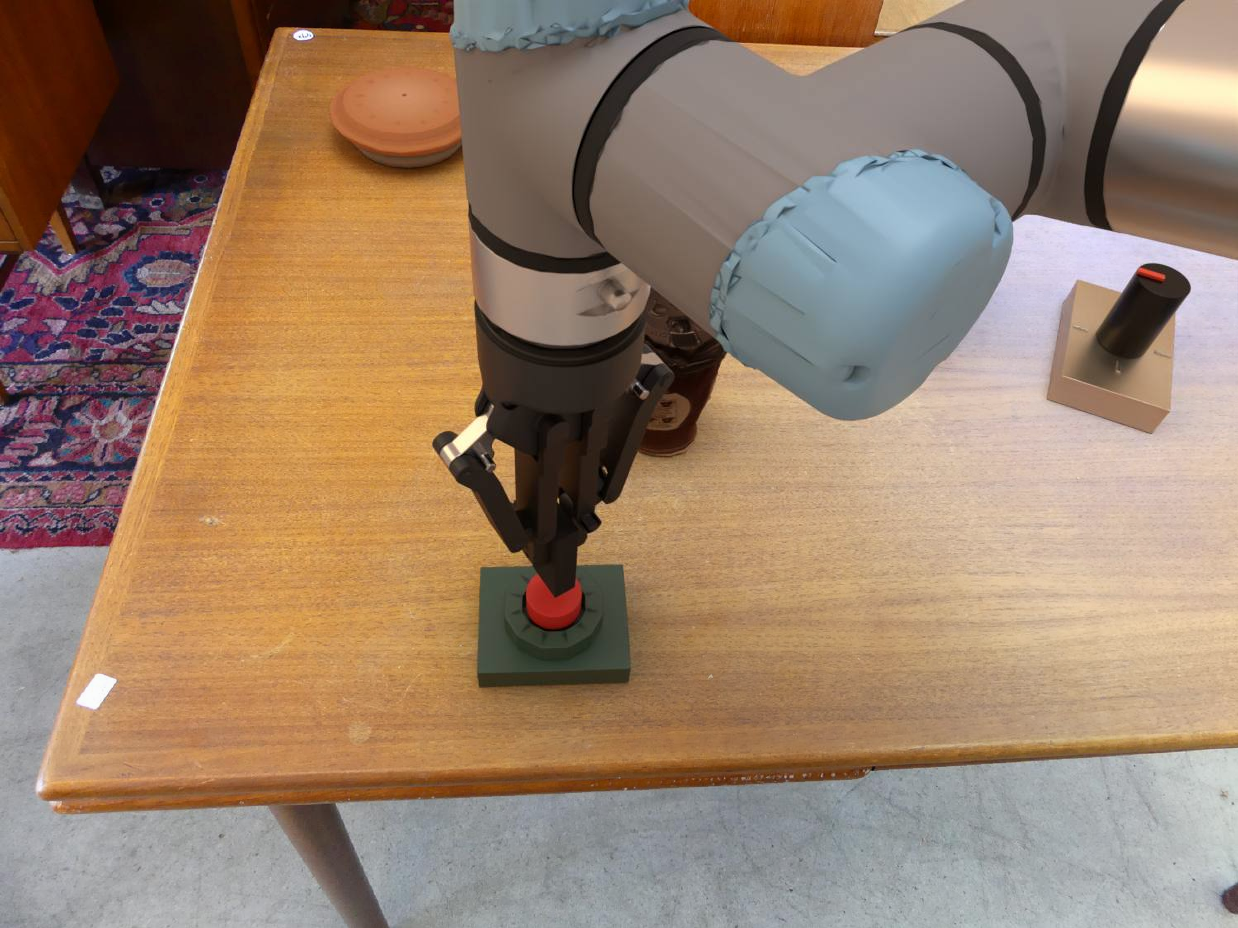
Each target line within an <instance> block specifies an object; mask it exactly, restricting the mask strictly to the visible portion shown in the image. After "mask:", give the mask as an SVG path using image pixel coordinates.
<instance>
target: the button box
mask: <svg viewBox="0 0 1238 928" xmlns="http://www.w3.org/2000/svg"><path fill="white" fill-rule="evenodd" d="M536 574H538V573H537V572H536V571H535V569H534V568H533V565H532V564H531V565H530V566H529V565H523V566H522V565H521V566H481V567H480V571H479V597H478V599H479V600H478V604H479V605H478V633H477V664H476V665H477V666H476V676H477V684H478V687H479V688H499V687H530V686H534V687H535V686H560V685H562V686H564V685H590V684H593V685H594V684H623V683H624V684H626V683H627V684H628V683H629V682H630V677H631V672H632V659H631V646H630V635H629V634H630V633H629V622H628V610H627V597H626V596H627V595H626V583H625V572H624V565H623V564H620V563H619V564H577V566H576V579H577V580H578V582H579V583H580V586H581V589H582V599H581V610H580V613H579V615H578V617H577V618H576V620H575V621H574V622H573V623H572V624H570V625H569V626H567V627H564V628H561V629H555V630H554V629H546V628H543V627H540V626H539V625H537V624H536V623H534V622H533V621H532V619H531V618H530V616H529V615H528V612H527V606H526V590H527V586H528V584H529V582H530V580H531V579H532V578H533V577H534V576H535V575H536Z"/></svg>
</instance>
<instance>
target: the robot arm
mask: <svg viewBox="0 0 1238 928" xmlns="http://www.w3.org/2000/svg"><path fill="white" fill-rule="evenodd" d="M690 1H691V0H453V23H452V24H451V26H450V29H449V33H448V34H449V39H450V43H451V45H452V46H453V59H454V68H455V69H454V70H455V79H456V81H457V93H458V104H459V115H460V126H461V138H462V144H461V147H462V148H461V149H462V157H463V158H462V160H463V171H464V180H465V182H464V183H465V192H466V193H465V194H466V201H467V204H468V205H467V206H468V209H467V220H468V237H469V250H470V251H469V252H470V267H471V269H470V270H471V282H472V294H473V298H474V301H473V303H474V306H473V307H474V309H473V310H474V323H475V337H476V338H475V339H476V351H477V352H476V353H477V362H478V367H479V371H480V376H481V383H482V384H481V388H480V391H479V393H478V395H477V397H476V399H475V401H474V405H473V406H474V408H473V411H474V414H475V417H476V418H475V419H474V420H473V421H471V423H469V425H467V427H466V428H465V429H463V430H462V432H460V433H459V434H458V433H456V432H454V431H452V430H444V431H442V432H441V433H438V434H437V435H436V436H435V437H434V438H433V440H432V442H431V447H432V449H434V451H435V453H436V454H437V456H438V457H439V458H440V460H441V461H442V463H443V464H444V466H445V468H447V470H448V471H449V472H450V474H451V475H452V477H453V478H454V480H455V482H456V483H458V484H459V485H461V486H463V487H465V488H468V489H469V490H470V491H471V492H472V494H473V496H474V497H475V499H476V502H477V503H478V504H479V506H480V508H481V510H482V512H483V514H484V515H485V517H486V519H487V521H488V522H489V524H490V525H491V527H492V528H493V530H494V531H495V532H496V534H497V535H498V536H499V538H500V539H501V541H502V542H503V543H504V545H505V546H506V548H507V549H508V551H509V552H510V553H511V554H517V553H520V552H523V554H524V555H525V557H526V558H527V559H528V561H529V563H530V564H531V566H532V565H533V568H534V569H535V571H536V572H537V573H538V575H539V576H540V578H541V579H542V581H543V582H544V583H545V585H546V586H547V588H548V589H549V590H550V592H551V593H552V595H553V596H554V597H555V598H556V597H558V596H560V595H562V594H563V593H565V592H567V591H569V590H571V589H573V588H574V587H575V581H576V566H577V565H578V550H579V549H578V548H579V547H581V546H583V545H584V544H585V543H586V542H587V539H588V535H589V534H592V533H594V532H596V531H597V530H598V529H599V528H600V527H601V526H602V523H603V521H602V520H601V518H600V517H599V516H598V514H597V513H596V506H598V505H599V504H600V503H604V505H610V504H612V503H613V504H614V503H615V502H616V501H618V499H619V498H620V496H621V495H622V492H623V489H624V487H625V484H626V482H627V479H628V477H629V475H630V472H631V469H632V466H633V464H634V462H635V459H636V457H637V454H638V451H639V450H638V449H639V447H640V444H641V442H642V439H643V436H644V434H645V431H646V429H647V426H648V424H649V421H650V419H651V416H652V414H653V411H654V409H655V406H656V405H657V404H658V402H659V401H660V399H661V398H662V396H663V395H664V394H665V392H666V391H667V389H668V388H669V386H670V385H671V383H672V382H673V380H674V377H675V375H674V373H673V372H672V371H671V370H670V369H669V368H668V367H667V366H666V365H665V363H664V362H663V361H662V360H661V359H660V358H659V357H658V356H657V355H656V354H655V353H654V352H653V351H652V350H651V349H650V347H649V346H648V345H647V344H645V343H644V337H645V329H646V321H647V310H648V309H647V300H648V297H649V294H650V287H652V288H653V289H654V290H656V291H657V292H658V293H659V294H661V295H662V296H663V297H664V298H665V299H667V300H668V301H669V302H670V303H672V304H673V305H674V306H675V307H677V308H678V309H679V310H680V311H682V312H683V313H684V314H685V315H687V316H688V317H689V318H690V319H691V320H693V321H694V322H695V323H696V324H698V325H699V326H700V327H701V328H703V329H704V330H705V331H706V332H708V333H709V334H710V335H711V336H712V337H714V338H715V339H716V340H717V341H719V342H720V344H721V345H722V347H723V349H724V351H726V352H728V353H727V354H729V355H730V356H732V358H734V359H735V360H737V361H738V362H739V363H740V364H742V365H743V366H744V367H746V368H749V369H750V368H751V369H753V370H754V371H756V370H757V371H759V372H761V373H762V374H764V375H765V376H766V377H768V378H769V379H771V380H772V381H774V382H776V383H777V384H778V385H780V386H781V387H783V388H784V389H786V390H787V391H788V392H789V393H791V394H793V395H794V396H796V397H797V398H799V399H800V400H801V401H803V402H805V403H806V404H808V405H809V406H810V407H812V408H813V409H815V410H816V411H818V412H819V413H820V414H823V415H824V416H826V417H829V418H831V419H835V420H838V421H845V422H854V421H862V420H863V421H864V420H868V419H871V418H875V417H878V416H880V415H881V414H884V413H885V412H887V411H889V410H891V409H893V408H894V407H897V406H898V405H899V404H901V403H902V402H903V401H904V400H906V399H907V398H909V397H910V396H911V395H912V394H913V393H915V392H916V390H918V389H920V387H921V386H922V385H923V384H924V383H925V382H926V380H927V379H928V377H929V376H930V375H931V374H932V372H933V371H934V370H935V368H937V366H938V365H939V364H941V363H942V362H944V361H946V360H947V359H949V357H950V355H952V354H953V352H954V351H956V349H957V348H958V346H959V345H960V344H961V343H962V341H963V340H964V339H965V337H967V335H968V333H969V332H970V331H971V329H972V328H973V326H974V325H975V323H976V322H977V321H978V319H979V318H980V317H981V315H982V314H983V312H984V311H985V309H986V307H988V306H987V305H989V302H990V301H991V299H992V297H993V295H994V293H995V291H996V289H998V286H999V285H1000V283H1001V281H1002V279H1003V277H1004V274H1005V272H1006V270H1007V266H1008V264H1009V261H1010V257H1011V254H1012V249H1013V245H1014V224H1013V223H1014V222H1016V221H1018V220H1019V219H1021V218H1022V217H1024V216H1040V217H1042V218H1047V219H1051V220H1052V219H1053V220H1055V221H1060V222H1064V223H1069V224H1073V225H1076V226H1082V227H1089V228H1094V229H1099V230H1104V231H1108V232H1112V233H1117V234H1123V235H1124V234H1125V235H1129V236H1133V237H1137V238H1141V239H1145V240H1149V241H1154V242H1158V243H1162V244H1167V245H1171V246H1175V247H1179V248H1183V249H1187V250H1192V251H1196V252H1201V253H1205V254H1208V255H1213V256H1218V257H1221V258H1226V259H1229V260H1230V259H1231V260H1234V261H1238V0H962V1H960V2H958V3H957V4H954V5H952V6H950V7H949V8H947V9H944V10H942V11H940V12H938V13H936V14H934V15H932V16H930V17H928V18H926V19H925V20H922V21H920V22H918V23H916V24H913V25H911V26H909V27H907V28H904V29H902V30H900V31H898V32H896V33H893V34H892V35H889V36H888V37H885V38H884V39H882V40H879V41H877V42H874V43H873V44H870V45H868V46H866V47H864V48H862V49H860V50H857V51H856V52H853V53H851V54H849V55H847V56H844V57H843V58H840V59H838V60H835V61H833V62H831V63H829V64H827V65H825V66H823V67H821V68H819V69H817V70H815V71H813V72H811V73H809V74H807V75H799V74H793V73H791V72H790V71H787V70H785V69H784V68H782V67H781V66H779V65H777V64H776V63H774V62H772V61H770V60H769V59H767V58H765V57H763V56H761V55H760V54H759V53H756V51H755V52H754V51H753V50H752V49H750V48H749V47H747V46H745V45H743V44H741V43H739V42H738V41H735V40H733V39H731V38H730V37H727V36H726V35H724V33H723V32H721V31H720V30H719V29H716V28H715V27H713V26H711V25H710V24H709V23H706V22H705V21H703V20H702V19H699V18H698V17H696V16H695V15H694V14H692V13H691V11H690V8H689V4H690ZM495 440H498V441H499V442H501V443H503V444H505V445H507V446H509V447H510V448H511V447H512V448H513V450H514V451H513V452H514V454H513V455H514V484H515V485H514V487H515V489H514V490H515V491H514V492H515V493H514V494H515V499H514V500H513V502H512V501H511V500H510V498H509V496H508V495H507V493H506V490H505V488H504V486H503V484H502V482H501V481H500V480H499V478H498V476H497V475H496V474H495V470H496V468H497V464H496V462H495V461H494V460H493V459H494V457H495V450H494V449H493V443H494V442H495ZM604 468H605V469H604Z"/></svg>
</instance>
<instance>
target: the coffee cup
mask: <svg viewBox="0 0 1238 928" xmlns="http://www.w3.org/2000/svg"><path fill="white" fill-rule="evenodd" d="M647 309H648V310H647V321H646V329H645V337H644V343H645V344H647V345H648V346H649V347H650V349H651V350H652V351H653V352H654V353H655V354H656V355H657V356H658V357H659V358H660V359H661V360H662V361H663V362H664V363H665V365H666V366H667V367H668V368H669V369H670V370H671V371H672V372H673V373H674V375H675V377H674V380H673V382H672V383H671V385H670V386H669V388H668V389H667V391H666V392H665V394H664V395H663V396H662V398H661V399H660V401H659V402H658V404H657V405H656V406H655V409H654V411H653V414H652V416H651V419H650V421H649V424H648V426H647V429H646V431H645V434H644V436H643V439H642V442H641V444H640V447H639V449H638V451H640V452H642V453H645V454H649V455H652V456H661V457H664V456H665V457H673V456H675V455H677V454H678V455H679V454H684V453H685V452H687V451H688V450H689V449H690V447H691V446H692V445H693V444H694V443H695V442H696V438H697V436H698V425H697V422H698V420H699V418H700V416H701V414H702V412H703V410H704V408H705V407H706V406H707V403H708V402H709V401H710V400H711V398H712V397H711V396H712V393H713V390H714V388H715V384H716V382H717V377H718V375H719V369H720V367H721V364H722V361H723V360H724V359H725V358H726V356H727V354H729V353H728V352H726V351H724V349H723V347H722V345H721V344H720V342H719V341H717V340H716V339H715V338H714V337H712V336H711V335H710V334H709V333H708V332H706V331H705V330H704V329H703V328H701V327H700V326H699V325H698V324H696V323H695V322H694V321H693V320H691V319H690V318H689V317H688V316H687V315H685V314H684V313H683V312H682V311H680V310H679V309H678V308H677V307H675V306H674V305H673V304H672V303H670V302H669V301H668V300H667V299H665V298H664V297H663V296H662V295H661V294H659V293H658V292H657V291H656V290H654V289H653V288H652V287H651V286H650V294H649V297H648V300H647Z"/></svg>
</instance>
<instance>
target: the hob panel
mask: <svg viewBox="0 0 1238 928" xmlns="http://www.w3.org/2000/svg"><path fill="white" fill-rule="evenodd" d="M1121 293H1122V292H1121V291H1118V290H1116V289H1115V290H1114V289H1112V288H1107V287H1105V286H1102V285H1099V284H1095V283H1092V282H1088V281H1085V280H1082V279H1076V281H1075V283H1074V284H1073V286H1072V288H1071V289H1070V291H1069V293H1068V295H1067V296H1066V297H1065V300H1064V301H1063V305H1062V310H1061V315H1060V323H1059V327H1058V331H1057V339H1056V344H1055V350H1054V356H1053V362H1052V367H1051V373H1050V379H1049V385H1048V391H1047V396H1046V400H1049V401H1052V402H1055V403H1058V404H1061V405H1064V406H1067V407H1069V408H1073V409H1076V410H1078V411H1082V412H1085V413H1088V414H1092V415H1094V416H1097V417H1100V418H1103V419H1106V420H1109V421H1112V422H1115V423H1119V424H1121V425H1125V426H1127V427H1131V428H1134V429H1136V430H1140V431H1143V432H1145V433H1147V434H1148V433H1149V434H1153V433H1154V432H1155V430H1156V429H1157V428H1158V426H1160V425H1161V423H1162V422H1163V421H1164V419H1165V418H1166V417H1167V416H1168V414H1169V413H1170V412H1171V409H1172V408H1171V407H1172V391H1173V390H1172V389H1173V387H1172V386H1173V372H1174V371H1173V370H1174V368H1173V367H1174V353H1175V352H1174V351H1175V335H1176V334H1175V331H1176V314H1177V311H1176V312H1175V314H1174V315H1173V316H1172V318H1171V319H1170V320H1169V322H1168V323H1167V324H1166V326H1165V327H1164V328H1163V330H1162V331H1161V333H1160V334H1159V335H1158V337H1157V338H1156V339H1155V341H1154V342H1153V343H1152V345H1151V346H1150V347H1149V349H1148V350H1147V351H1146V353H1145V354H1144V355H1142V356H1140V357H1137V358H1126V357H1121V356H1118V355H1116V354H1114V353H1112V352H1110V351H1108V350H1107V349H1106V348H1104V347H1103V346H1102V344H1101V343H1100V342H1099V340H1098V338H1097V330H1098V328H1099V327H1100V325H1101V324H1102V322H1103V321H1104V319H1105V318H1106V316H1107V314H1108V313H1109V311H1110V310H1111V308H1112V307H1113V305H1114V304H1115V302H1116V301H1117V299H1118V298H1119V296H1120V295H1121Z"/></svg>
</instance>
